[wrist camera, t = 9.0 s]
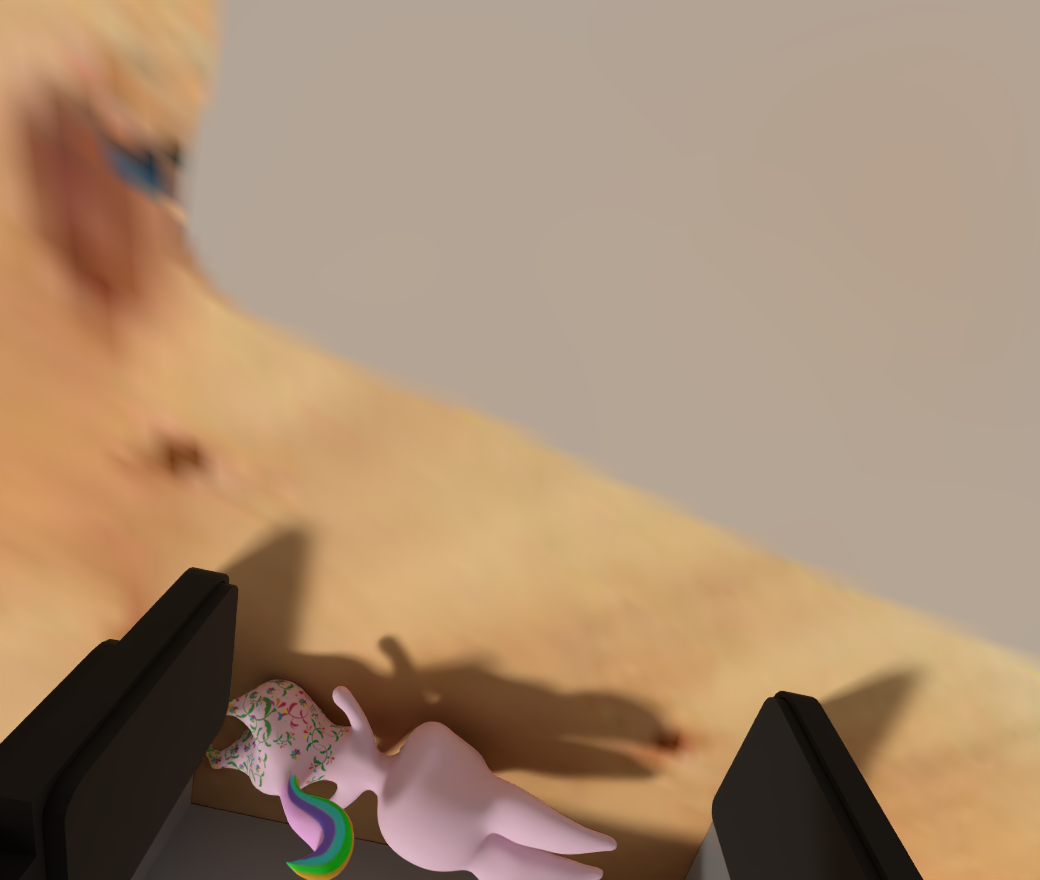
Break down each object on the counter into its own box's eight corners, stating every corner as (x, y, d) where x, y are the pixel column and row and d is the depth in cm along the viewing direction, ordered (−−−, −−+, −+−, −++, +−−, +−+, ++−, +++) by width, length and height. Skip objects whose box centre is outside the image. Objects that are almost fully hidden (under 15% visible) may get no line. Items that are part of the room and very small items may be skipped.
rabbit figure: (235, 728, 24) (584, 874, 23) (112, 867, 18) (566, 1074, 17) (257, 602, 22) (641, 754, 21) (126, 715, 16) (642, 935, 15)
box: (179, 600, 20) (69, 708, 16) (782, 737, 21) (851, 879, 17) (164, 816, 24) (70, 959, 19) (687, 926, 25) (721, 1088, 20)
